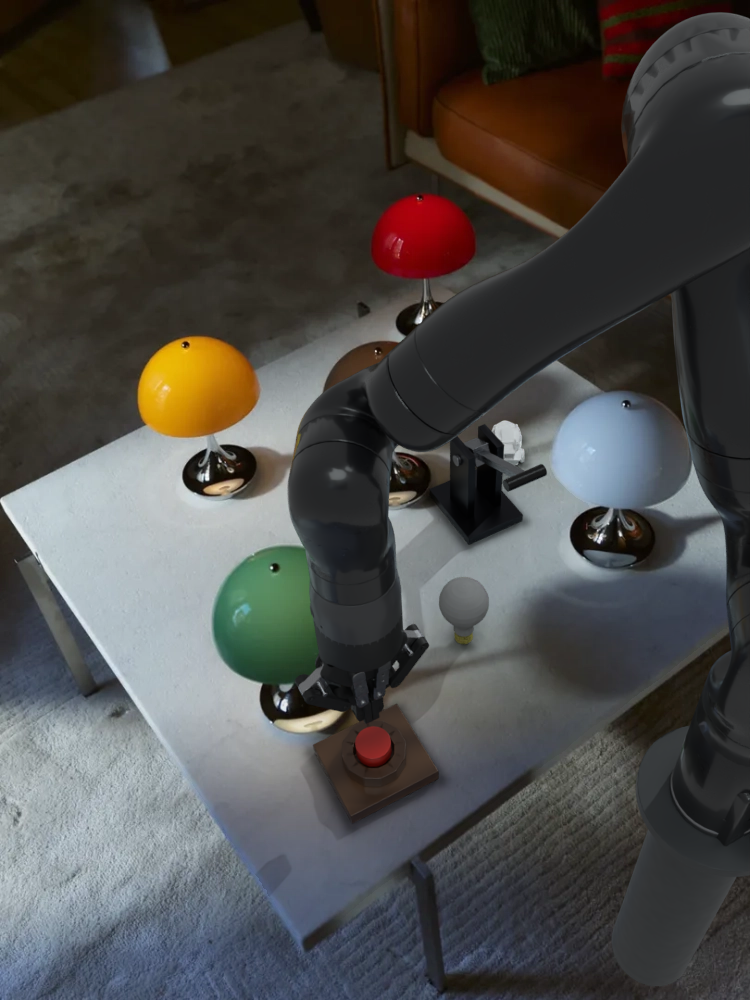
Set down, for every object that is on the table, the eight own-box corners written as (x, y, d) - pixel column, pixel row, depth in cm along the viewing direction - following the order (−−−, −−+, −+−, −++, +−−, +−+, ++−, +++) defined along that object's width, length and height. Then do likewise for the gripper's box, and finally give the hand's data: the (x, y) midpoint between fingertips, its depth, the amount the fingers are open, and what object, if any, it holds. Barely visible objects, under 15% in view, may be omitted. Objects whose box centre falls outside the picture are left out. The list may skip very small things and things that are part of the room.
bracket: (522, 520, 121) (528, 454, 112) (468, 544, 118) (470, 478, 110) (481, 473, 127) (483, 406, 118) (429, 495, 125) (427, 428, 116)
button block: (439, 778, 97) (438, 762, 94) (352, 824, 94) (349, 808, 92) (397, 711, 103) (396, 694, 100) (314, 752, 100) (310, 735, 97)
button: (397, 757, 96) (397, 748, 94) (366, 773, 95) (365, 764, 93) (381, 729, 98) (380, 720, 97) (350, 744, 97) (349, 736, 96)
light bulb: (430, 632, 109) (429, 579, 102) (471, 613, 111) (472, 559, 104) (454, 667, 106) (455, 614, 99) (496, 647, 108) (499, 593, 100)
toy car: (488, 472, 127) (489, 449, 124) (485, 431, 132) (486, 409, 129) (524, 471, 127) (526, 448, 124) (520, 430, 132) (521, 408, 129)
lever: (548, 481, 106) (545, 461, 105) (511, 497, 105) (507, 478, 104) (490, 450, 118) (486, 433, 117) (455, 465, 116) (451, 447, 115)
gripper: (302, 672, 74) (322, 776, 87) (448, 605, 78) (447, 714, 91) (265, 605, 79) (289, 713, 92) (405, 545, 83) (409, 657, 95)
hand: (368, 713), depth 91 cm, fingers closed
